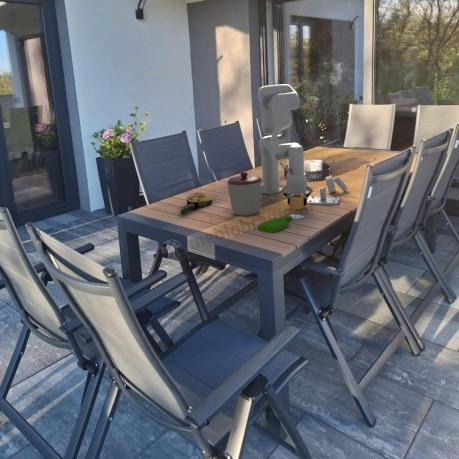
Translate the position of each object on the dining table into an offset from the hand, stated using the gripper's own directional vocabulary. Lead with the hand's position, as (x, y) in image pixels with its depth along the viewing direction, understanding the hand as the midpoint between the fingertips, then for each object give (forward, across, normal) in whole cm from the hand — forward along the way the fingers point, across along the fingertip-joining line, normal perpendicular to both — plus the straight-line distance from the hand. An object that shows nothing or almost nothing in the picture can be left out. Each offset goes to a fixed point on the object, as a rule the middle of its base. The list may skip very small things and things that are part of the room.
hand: (297, 205), depth 246 cm
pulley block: (+2, -55, -2) cm, 55 cm away
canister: (+1, -24, -11) cm, 26 cm away
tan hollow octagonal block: (+1, 0, 0) cm, 1 cm away
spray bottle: (+2, -2, -27) cm, 27 cm away
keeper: (+1, +11, +12) cm, 17 cm away
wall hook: (+1, +16, +32) cm, 36 cm away
